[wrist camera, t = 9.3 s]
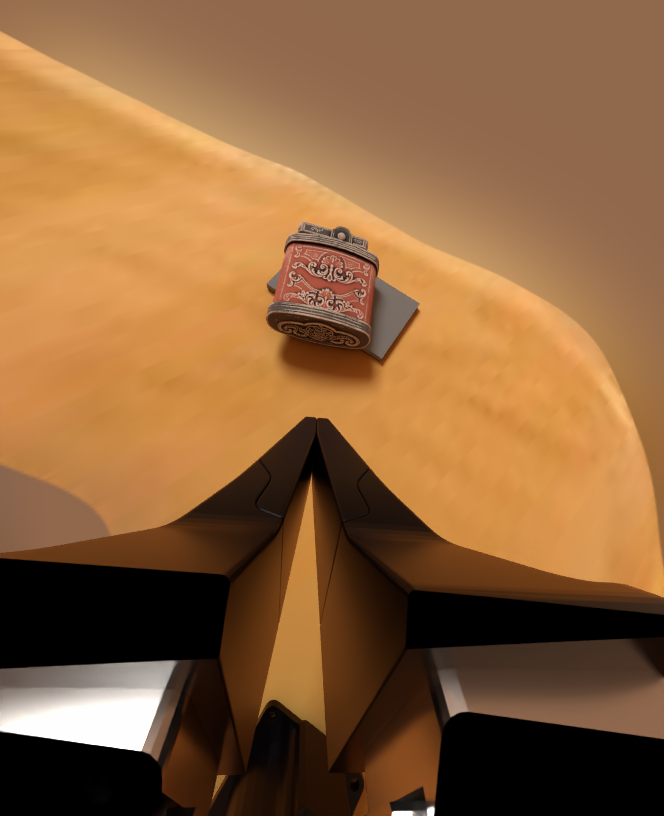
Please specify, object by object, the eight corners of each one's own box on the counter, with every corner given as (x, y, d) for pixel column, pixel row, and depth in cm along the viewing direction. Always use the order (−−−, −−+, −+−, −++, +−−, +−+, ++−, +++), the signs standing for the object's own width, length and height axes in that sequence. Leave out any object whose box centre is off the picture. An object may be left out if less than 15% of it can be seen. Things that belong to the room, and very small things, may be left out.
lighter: (363, 353, 21) (374, 262, 24) (376, 331, 18) (387, 228, 21) (267, 332, 20) (291, 239, 23) (263, 304, 17) (292, 201, 20)
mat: (380, 361, 21) (381, 358, 21) (267, 287, 22) (266, 283, 22) (417, 307, 23) (419, 303, 23) (312, 242, 24) (312, 237, 24)
